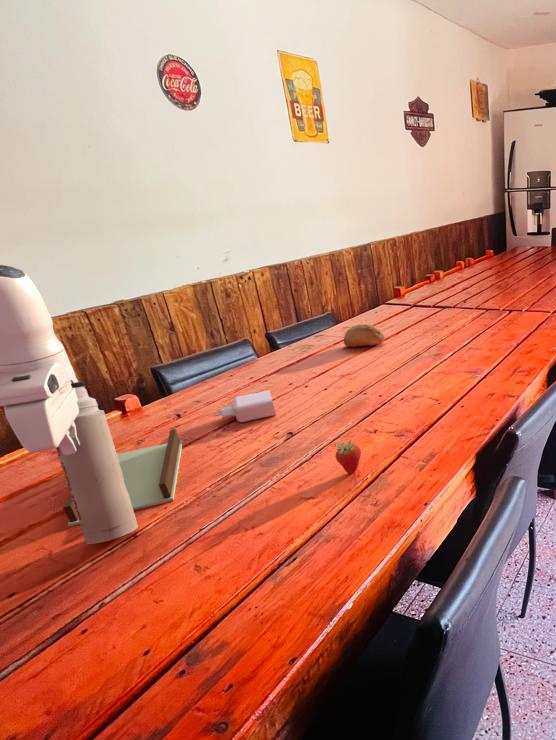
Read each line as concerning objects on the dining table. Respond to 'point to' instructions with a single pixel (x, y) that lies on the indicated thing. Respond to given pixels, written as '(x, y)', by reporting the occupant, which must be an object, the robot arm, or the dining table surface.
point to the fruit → (348, 456)
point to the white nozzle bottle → (249, 407)
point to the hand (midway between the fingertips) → (72, 450)
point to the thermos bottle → (96, 476)
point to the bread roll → (363, 335)
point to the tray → (145, 475)
